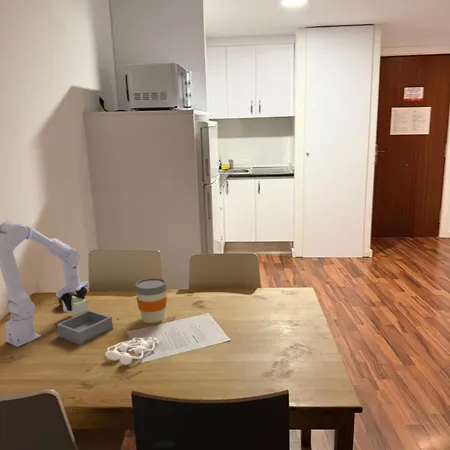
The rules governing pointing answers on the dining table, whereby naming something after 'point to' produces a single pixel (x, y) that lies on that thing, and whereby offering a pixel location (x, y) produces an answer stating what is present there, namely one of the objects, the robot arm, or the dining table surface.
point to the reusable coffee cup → (151, 299)
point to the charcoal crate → (84, 327)
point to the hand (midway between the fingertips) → (75, 308)
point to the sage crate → (76, 306)
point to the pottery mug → (70, 295)
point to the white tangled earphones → (140, 349)
